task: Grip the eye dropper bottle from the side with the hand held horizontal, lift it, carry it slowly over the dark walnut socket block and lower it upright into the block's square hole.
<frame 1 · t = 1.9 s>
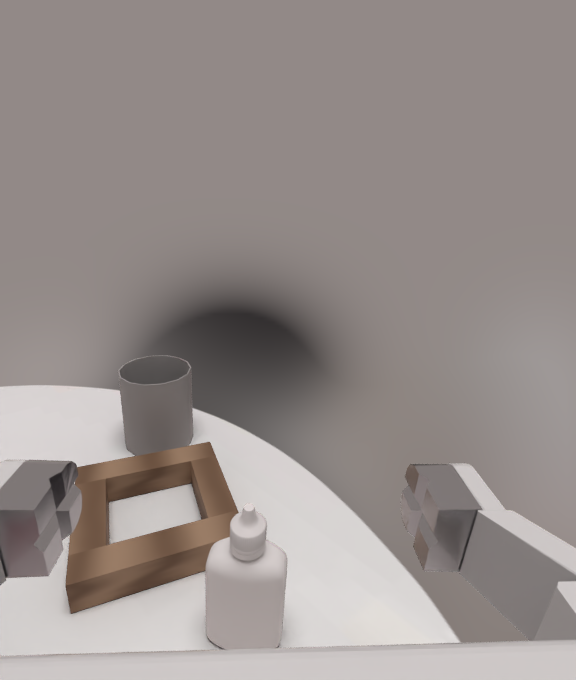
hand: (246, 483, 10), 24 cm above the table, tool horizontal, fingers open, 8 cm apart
cup: (159, 439, 52), on the table
eye dropper bottle: (244, 632, 30), on the table
socket block: (156, 521, 39), on the table
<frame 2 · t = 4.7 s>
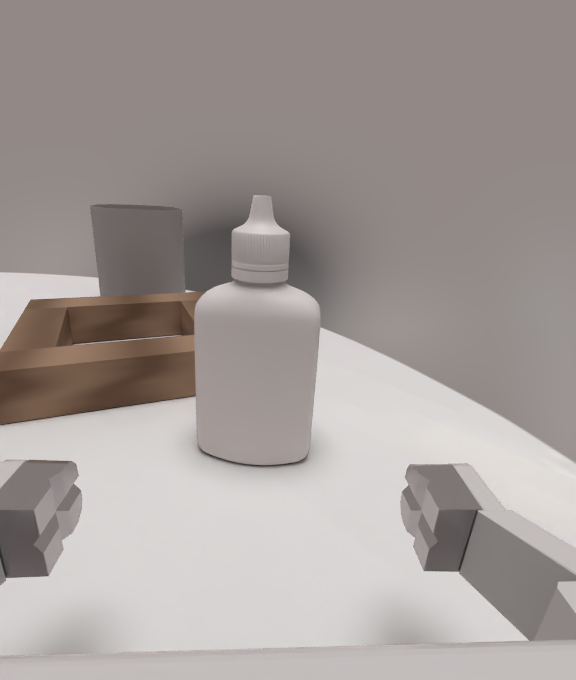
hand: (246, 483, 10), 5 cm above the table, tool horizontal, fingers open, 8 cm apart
cup: (145, 307, 42), on the table
eye dropper bottle: (254, 448, 20), on the table
socket block: (133, 358, 29), on the table
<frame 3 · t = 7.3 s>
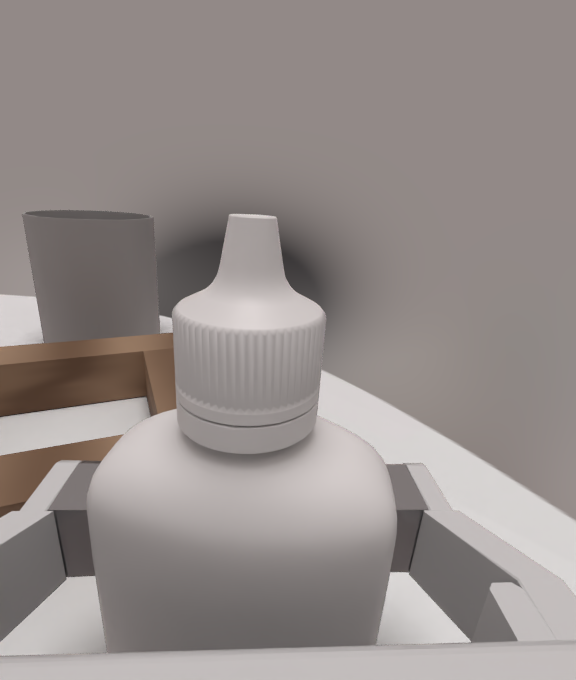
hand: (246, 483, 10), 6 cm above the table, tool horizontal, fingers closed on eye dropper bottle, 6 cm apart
cup: (106, 346, 32), on the table
socket block: (62, 449, 19), on the table
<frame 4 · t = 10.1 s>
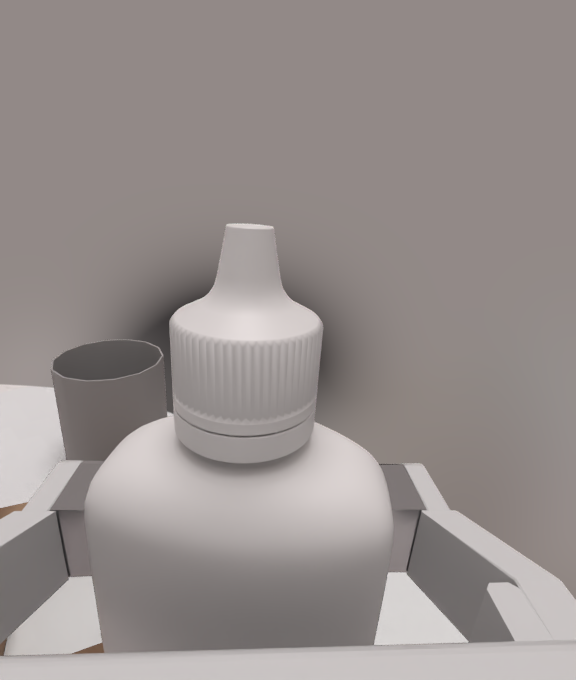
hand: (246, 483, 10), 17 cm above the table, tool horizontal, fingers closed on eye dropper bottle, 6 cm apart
cup: (121, 460, 36), on the table
socket block: (93, 609, 23), on the table
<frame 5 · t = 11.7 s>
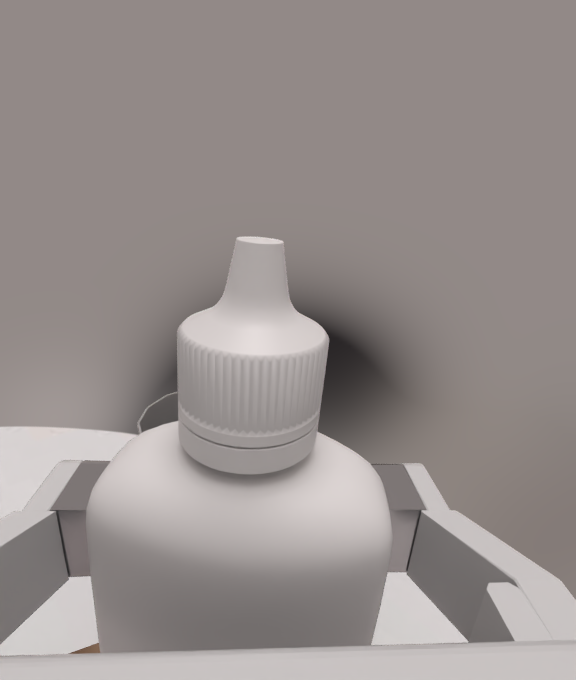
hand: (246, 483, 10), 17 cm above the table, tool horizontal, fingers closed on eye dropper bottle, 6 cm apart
cup: (210, 538, 29), on the table
when the fingers open (7 cm above the table, at t = 14.7 s): eye dropper bottle stays where it is, resting in socket block.
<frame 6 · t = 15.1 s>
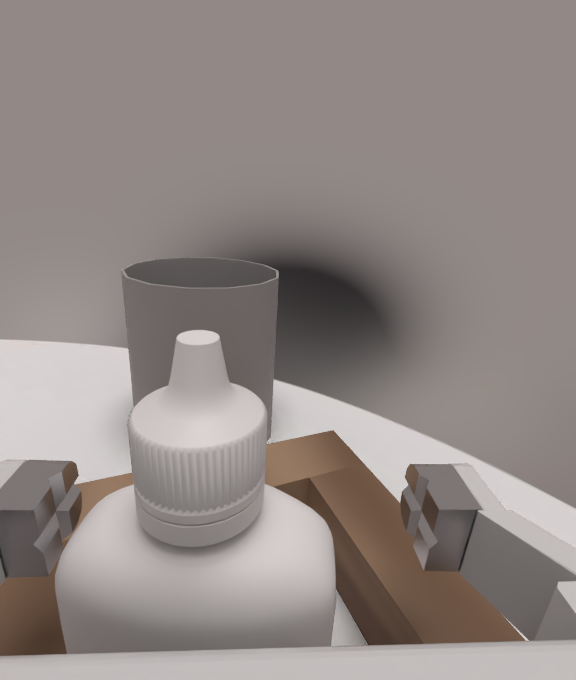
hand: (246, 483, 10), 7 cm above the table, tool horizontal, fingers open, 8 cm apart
cup: (206, 428, 25), on the table
socket block: (241, 670, 12), on the table
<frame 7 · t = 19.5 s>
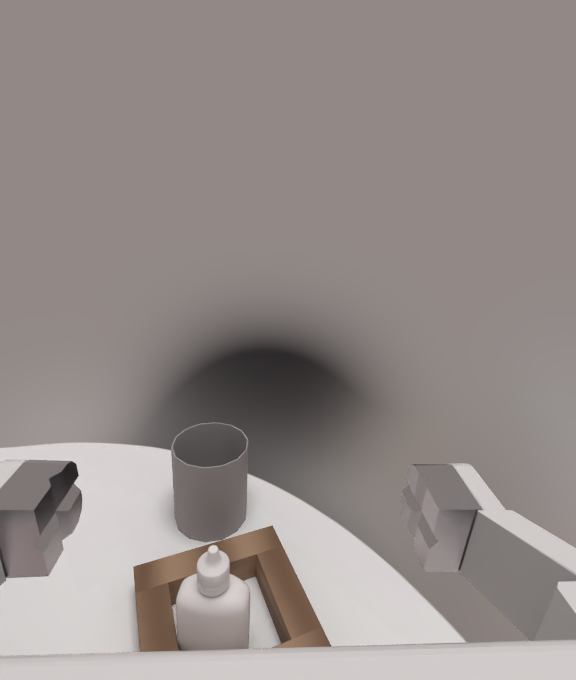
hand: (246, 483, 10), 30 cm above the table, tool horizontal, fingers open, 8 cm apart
cup: (211, 514, 47), on the table
eye dropper bottle: (214, 656, 33), resting in socket block
socket block: (226, 632, 35), on the table
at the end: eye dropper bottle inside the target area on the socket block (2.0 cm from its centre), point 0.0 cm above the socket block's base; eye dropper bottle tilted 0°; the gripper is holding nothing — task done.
